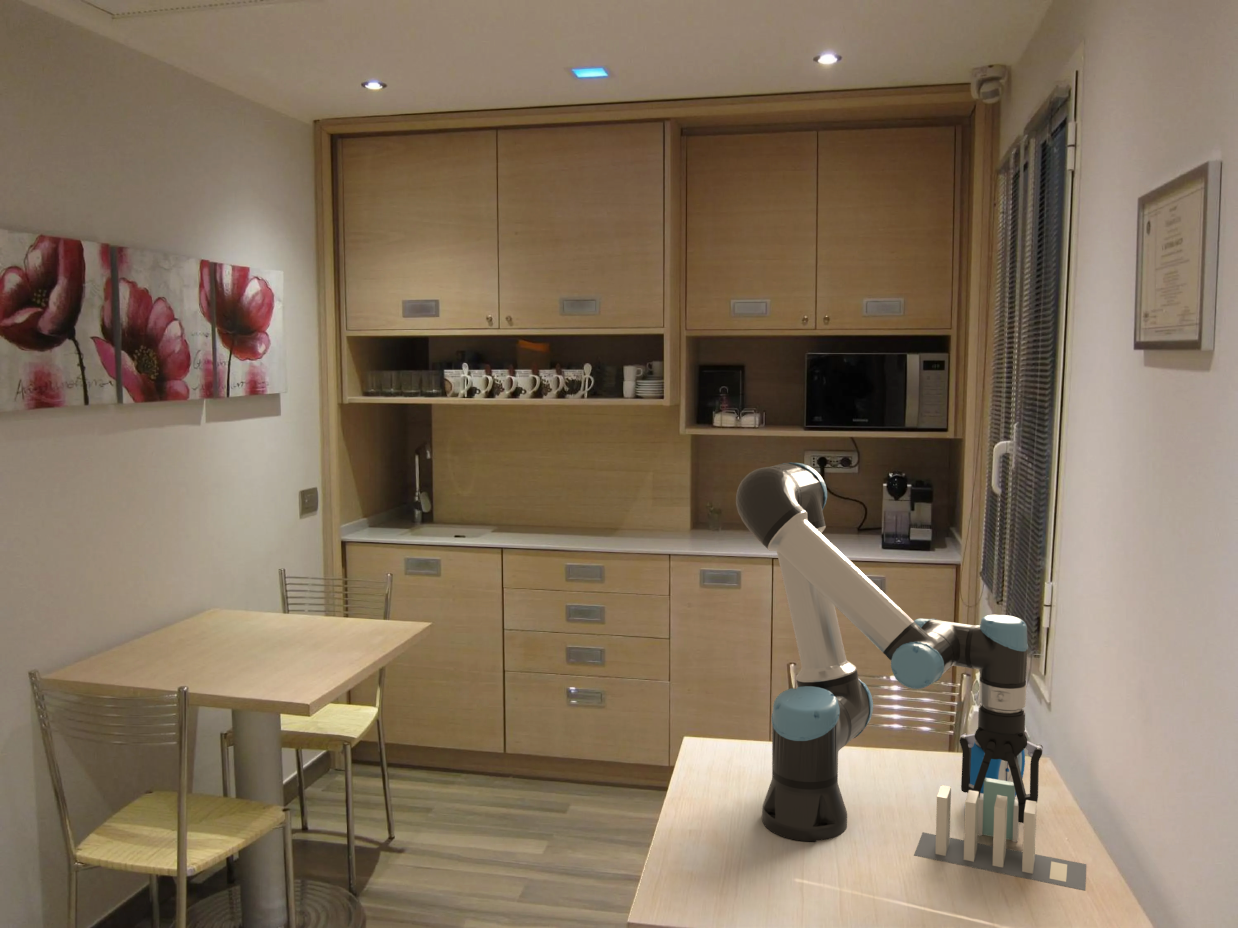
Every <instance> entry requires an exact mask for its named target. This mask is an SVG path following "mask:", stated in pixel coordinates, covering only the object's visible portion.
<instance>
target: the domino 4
mask: <svg viewBox="0 0 1238 928" xmlns="http://www.w3.org/2000/svg"><path fill="white" fill-rule="evenodd" d="M1006 827H1007V796H1001V795H997V798H996V802H995V806H994V833H993V836H992V837H993V838H992V839H993V841H992V846H993V866H998V867H1003V865H1004V860H1005V855H1006V849H1007V839H1006Z"/></svg>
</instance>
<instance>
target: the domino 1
mask: <svg viewBox="0 0 1238 928" xmlns="http://www.w3.org/2000/svg"><path fill="white" fill-rule="evenodd" d="M951 794H952V786H948V785H940V788H939V790H938V793H937V795H936V815H935V817H936V819H935V821H936V822H935V823H936V825H935V835H936V854H939V855H944V856H946V853H947V849H948V846H949V843H950V838H951V808H952V807H951V804H952V803H951V801H952V799H951V798H952V795H951Z"/></svg>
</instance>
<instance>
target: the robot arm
mask: <svg viewBox="0 0 1238 928" xmlns="http://www.w3.org/2000/svg"><path fill="white" fill-rule="evenodd" d="M827 499H828V490H827V485H826V482H825V480H824V479H823V477H822V476H821V474H820V473H819V472H818V471H817V470H816V469H814V468H813V467H812V466H810V465H807V464H806V463H802V462H801V463H800V462H791V461H790V462H783V463H780V464H775V465H773V466H765V467H760V468H757V469H754V470H753V471H750V472H749V473H748V474H746V476H745V477H744V478H742V480H741V481H740V484H739V485H738V487H737V490H736V496H735V506H736V509H737V513H738V515H739V517H740V519H741V522H743V524H744V525H745V527H746V528H747V529H748V531H749V532H750V533H751V534H753V535H752V536H754V537H755V538H756V539H757V540H758V541H759V542H760V543H761V544H762V545H763V546H764V547H765V548H766V549H767V550H768V551H770V552H776V553H777V559H778V563H779V564H778V565H779V568H780V572H781V577H782V581H783V587H784V590H785V595H786V599H787V605H788V609H789V615H790V619H791V624H792V627H793V632H794V637H795V641H796V647H797V651H798V655H799V661H800V665H801V668H800V670H799V672H797V675H796V676H795V680H796V684H797V687H796V688H788V689H786V690H783V691H782V692H781V693H779V694H778V695H777V696H776V697H775V699H774V702H773V705H772V714H771V729H772V730H771V731H772V732H771V737H772V738H771V739H772V740H771V746H772V748H771V749H772V750H771V753H772V754H771V755H772V756H771V757H772V758H771V759H772V760H771V761H772V762H771V765H772V766H771V768H772V769H771V772H772V773H771V780H770V784H769V786H768V789H767V792H766V794H765V798H764V801H763V804H762V808H761V809H762V810H761V820H762V823H763V825H764V827H766V828H767V829H768V830H769V831H770V832H772V833H774V834H776V835H778V836H780V837H784V838H786V839H790V840H795V841H800V842H801V841H802V842H818V841H819V842H820V841H827V840H831V839H833V838H836V837H839V836H841V835H842V834H843V833H844V832H845V831H846V830H847V827H848V811H847V808H846V805H845V802H844V799H843V796H842V795H843V794H842V792H841V789H840V786H839V782H838V780H839V779H838V777H839V774H838V773H839V751H840V750H842V749H843V748H844V747H845V746H846V745H847V744H849V743H850V742H851V740H853V739H856V737H858V736H859V735H861V734H862V733H863V732H864V730H865V729H866V728H867V726H868V724H869V723H870V721H871V719H872V716H873V713H874V701H873V696H872V693H871V691H870V689H869V688H868V687H869V686H868V685H867V684H866V683H865V682H863V681H862V680H861V679H860V678H859V674H858V669H857V666H856V665H854V664H853V663H852V662H850V661H848V660H847V655H846V651H845V647H844V643H843V638H842V633H841V629H840V624H839V619H838V615H837V611H836V609H838V611H839V612H840V613H841V614H843V616H845V618H846V619H848V621H850V622H851V624H852V625H854V626H855V627H856V628H857V629H858V630H859V631H860V632H861V633H862V634H863V635H864V636H865V637H866V638H867V639H868V640H869V641H871V642H872V644H873V645H875V647H876V648H877V649H878V650H879V651H880V652H882V654H884V655H885V657H886V658H887V659H888V660H889V661H890V667H891V671H892V674H893V676H894V678H895V679H896V680H897V682H898V683H900V684H901V685H903V686H905V687H906V688H909V689H913V690H920V689H925V688H927V687H928V686H931V685H932V684H934V683H937V682H938V681H939V680H940V679H941V678H942V676H943V675H944V673H946V672H947V671H948V670H950V668H951V667H953V666H954V667H959V668H960V667H961V668H965V669H973V670H974V669H975V670H976V669H977V670H979V682H978V683H979V684H978V685H979V686H978V702H979V703H980V704H979V705H978V715H977V719H978V721H977V723H978V724H977V729H976V730H975V733H970V734H967V733H966V732H964V733H963V732H962V734H960V738H959V740H958V741H959V744H960V746H961V750H962V757H961V759H962V761H961V780H960V781H961V782H960V784H961V785H960V786H961V787H960V789H961V792H962V793H966V794H968V791H969V790H972V791H978V792H979V806H978V836H980V837H981V836H983V794H982V793H980V791H981V788H982V785H983V782H984V779H985V776H986V773H987V770H988V767H989V764H990V761H991V759H1001V760H1004V761H1008V765H1009V768H1010V771H1011V775H1012V779H1013V783H1014V787H1015V791H1016V798H1017V799H1016V798H1015V803H1014V813H1013V840H1012V842H1013V843H1018V840H1019V831H1020V829H1019V828H1020V823H1021V824H1024V810H1025V804H1026V800H1030V801H1036V802H1037V803H1038V801H1039V780H1040V778H1039V772H1040V771H1039V770H1040V768H1039V767H1040V765H1039V764H1040V760H1041V757H1042V755H1043V751H1044V747H1043V745H1042V744H1041V743H1037V744H1035V743H1033V742H1031V741H1028V737H1027V736H1026V731H1025V730H1026V710H1025V709H1024V708H1025V707H1026V706H1027V705H1026V701H1027V669H1028V666H1027V665H1028V650H1029V644H1028V627H1027V623H1026V622H1025V621H1024V620H1023V619H1021V618H1020V617H1016V616H1013V615H1008V614H1007V615H1006V614H987V615H985V616H983V617H982V618H981V621H980V624H979V625H978V624H977V625H976V624H975V625H974V624H969V623H968V624H966V623H962V622H953V621H945V620H940V619H937V618H922V617H921V618H917V619H914V620H913V619H912V617H910V616H909V615H908V614H907V613H906V612H905V611H904V610H902V608H901V607H899V605H897V604H896V603H895V602H894V601H893V600H892V599H891V598H890V597H889V596H888V595H887V594H886V593H885V592H884V591H883V590H881V589H880V587H878V585H876V584H875V583H874V581H872V580H871V579H870V578H869V577H868V576H867V575H865V573H864V572H862V571H861V569H859V568H858V566H856V565H855V564H854V563H853V562H852V561H851V560H850V559H849V558H848V557H847V556H846V555H844V554H843V553H842V551H840V550H839V549H838V548H837V547H836V546H835V545H834V544H833V543H832V542H830V540H829V539H828V538H827V537H826V536H825V535H824V534H822V533H823V532H824V531H825V529H826V527H827V525H826V522H825V517H824V512H823V510H824V508H825V506H826V504H827ZM974 741H977V742H978V744H979V745H980V747H981V748H982V750H983V751H984V753H985V754H984V757H983V761H982V764H981V767H980V770H979V773H978V776H977V779H976V782H975V785H972V784H970V772H971V748H972V747H973V746H974ZM1025 749H1026V750H1027V755H1028V757H1030V764H1029V765H1030V769H1029V770H1030V772H1029V793H1026V788H1025V784H1024V780H1023V779H1022V776H1021V772H1020V767H1019V763H1018V757H1017V756H1018V755H1019V754H1020V753H1021V752H1022V751H1023V750H1024V751H1025Z"/></svg>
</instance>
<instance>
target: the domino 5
mask: <svg viewBox="0 0 1238 928" xmlns="http://www.w3.org/2000/svg"><path fill="white" fill-rule="evenodd" d="M1037 804H1038V801H1037V802H1036V801H1030V800H1026V804H1025V810H1024V823H1023V834H1022V835H1023V837H1022V852H1023V860H1022V872H1027V873H1032V874H1033V869H1034V861H1035V854H1036V833H1037V829H1036V828H1037Z"/></svg>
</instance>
